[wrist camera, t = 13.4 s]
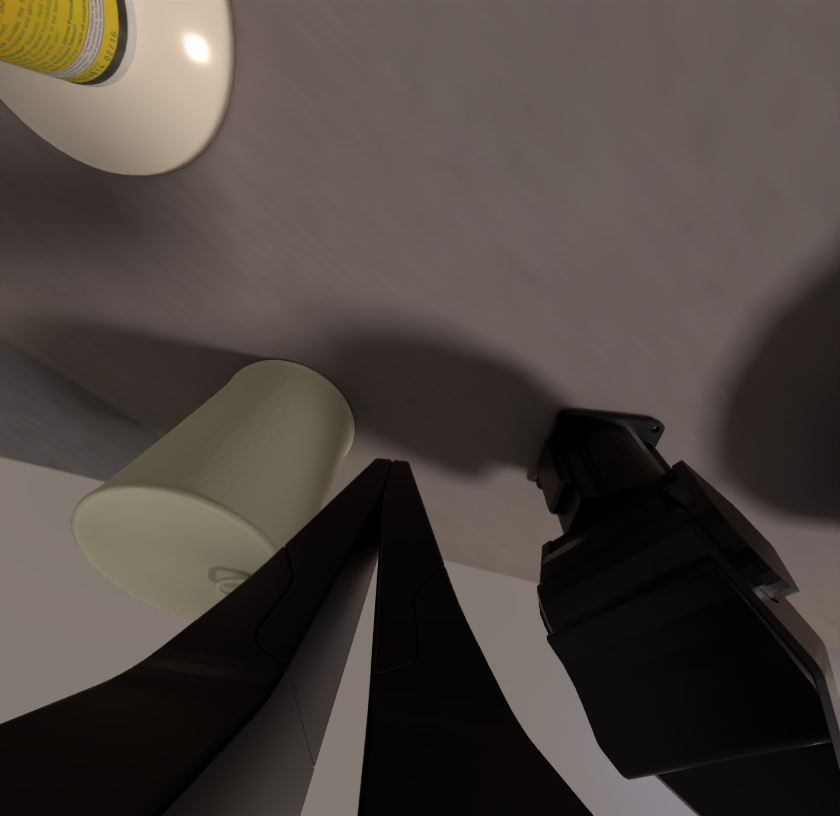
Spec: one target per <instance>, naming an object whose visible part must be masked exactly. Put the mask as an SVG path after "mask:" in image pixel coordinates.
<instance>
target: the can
mask: <svg viewBox="0 0 840 816" xmlns="http://www.w3.org/2000/svg"><path fill="white" fill-rule="evenodd" d="M354 433H355V425H354V419H353V415H352V412H351V409H350V407H349V405H348V403H347V401H346V399H345V398H344V396H343V395H342V394H341V392H340V391H339V390H338V389H337V388H336V387H335V386H334V385H333V384H332V383H331V382H330V381H329V380H327V379H326V378H325V377H324V376H322V375H321V374H319V373H317V372H316V371H314V370H312V369H310V368H308V367H306V366H303V365H301V364H297V363H294V362H290V361H284V360H265V361H259V362H256V363H252V364H250V365H248V366H246V367H244V368H243V369H241V370H239V371H238V372H237V373H236V374H235V375H234V376H233V377H232V379H231V380H230V381H229V383H228V384H226V385H225V386H224V387H223V388H222V389H221V390H220V391H218V392H217V393H216V394H215V395H214V396H213V397H211V398H210V399H209V400H208V401H207V402H205V403H204V404H203V405H202V406H200V407H199V408H198V409H197V410H196V411H194V412H193V413H192V414H191V415H189V416H188V417H187V418H186V419H185V420H183V421H182V422H181V423H180V424H178V425H177V426H176V427H175V428H174V429H172V430H171V431H170V432H169V433H167V434H166V435H165V436H164V437H163V438H161V439H160V440H159V441H157V442H156V443H155V444H154V445H152V446H151V447H150V448H149V449H147V450H146V451H145V452H144V453H142V454H141V455H140V456H139V457H137V458H136V459H135V460H133V461H132V462H131V463H130V464H128V465H127V466H126V467H125V468H123V469H122V470H121V471H120V472H118V473H117V474H116V475H115V476H113V477H112V478H111V479H110V480H108V481H107V482H105V483H104V484H103V485H101V486H100V487H99V488H97V489H96V490H94V491H92V492H91V493H89V494H87V495H86V496H85V497H83V498H82V499H81V501H80V502H79V503H78V504H77V506H76V508H75V509H74V511H73V514H72V517H71V530H72V534H73V538H74V540H75V542H76V544H77V547H78V548H79V550H80V551H81V553H82V554H83V556H84V557H85V558H86V560H87V561H88V562H89V563H90V564H91V565H92V566H93V567H94V569H96V570H97V571H98V572H99V573H100V574H101V575H102V576H103V577H105V578H106V579H107V580H108V581H110V582H111V583H112V584H114V585H115V586H116V587H118V588H119V589H121V590H123V591H124V592H126V593H127V594H129V595H131V596H133V597H134V598H136V599H138V600H140V601H142V602H144V603H146V604H148V605H150V606H153V607H155V608H158V609H160V610H163V611H166V612H168V613H171V614H174V615H177V616H181V617H185V618H189V619H193V620H197V619H198V618H199V617H200V616H202V615H203V614H204V613H205V612H207V611H208V610H209V609H211V608H212V607H213V606H214V605H216V604H217V603H218V602H219V601H221V600H222V599H223V598H225V597H226V596H227V595H228V594H229V593H231V592H232V591H233V590H234V589H236V588H237V587H238V586H239V585H240V584H242V583H243V582H244V581H245V580H247V579H248V578H249V577H250V576H251V575H252V574H253V573H255V572H256V571H257V570H258V569H259V568H260V567H261V566H262V565H263V564H265V563H266V562H267V561H268V560H269V559H270V558H271V557H272V556H273V555H274V554H275V553H276V552H278V551H279V550H280V549H281V548H282V547H285V544H286V543H287V542H288V541H289V540H290V539H291V538H293V537H294V536H295V535H296V534H297V533H298V532H299V531H300V530H301V529H302V528H303V527H304V526H305V525H306V524H307V523H308V522H309V521H311V520H312V519H313V518H314V517H315V516H316V515H317V514H318V513H319V512H320V510H321V508H322V506H323V503H324V501H325V499H326V496H327V494H328V492H329V490H330V487H331V485H332V483H333V480H334V478H335V476H336V473H337V471H338V469H339V467H340V465H341V463H342V461H343V458H344V457H345V455H346V454H347V453H348V451H349V450H350V448H351V445H352V443H353V439H354Z"/></svg>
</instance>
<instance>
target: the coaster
mask: <svg viewBox="0 0 840 816" xmlns="http://www.w3.org/2000/svg"><path fill="white" fill-rule="evenodd" d="M132 1H133V5H134V10H135V17H136V27H137V41H136V50H135V54H134V58H133V61H132V63H131V65H130V67H129V69H128V71H127V72H126V74H125V75H124V76H123V77H122V78H121V79H120V80H119V81H117V82H116V83H114V84H112V85H108V86H104V87H88V86H83V85H79V84H74V83H71V82H68V81H64V80H61V79H57V78H54V77H51V76H48V75H44V74H41V73H38V72H35V71H32V70H28V69H25V68H22V67H19V66H16V65H12V64H9V63H6V62H3V61H0V99H1V100H2V101H3V102H4V103H5V104H6V105H7V106H8V107H9V108H10V109H11V110H12V111H13V112H14V113H15V114H16V115H17V116H18V117H19V118H20V119H21V120H22V121H23V122H24V123H25V124H26V125H27V126H29V127H30V128H31V129H32V130H33V131H34V132H36V133H37V134H38V135H39V136H40V137H42V138H43V139H45V140H46V141H47V142H49V143H50V144H52V145H53V146H54V147H56V148H57V149H59V150H60V151H62V152H64V153H66V154H67V155H69V156H71V157H72V158H74V159H76V160H78V161H80V162H83V163H85V164H87V165H89V166H92V167H94V168H98V169H101V170H104V171H107V172H112V173H118V174H124V175H137V176H158V175H164V174H169V173H172V172H175V171H178V170H180V169H183V168H185V167H186V166H188V165H189V164H191V163H193V162H194V161H196V160H197V159H198V158H199V157H200V156H201V155H202V154H203V153H204V152H205V151H206V150H207V149H208V147H209V146H210V145H211V143H212V142H213V141H214V139H215V138H216V136H217V134H218V132H219V130H220V128H221V126H222V124H223V122H224V119H225V116H226V113H227V110H228V107H229V104H230V99H231V94H232V90H233V84H234V73H235V31H234V21H233V11H232V6H231V1H230V0H132Z"/></svg>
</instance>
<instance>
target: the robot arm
mask: <svg viewBox="0 0 840 816" xmlns="http://www.w3.org/2000/svg"><path fill="white" fill-rule="evenodd" d="M565 417H569V418H568V419H567V420H563V418H565ZM655 426H657V427H656V428H655V429H652V428H653V427H655ZM664 429H665V427H664V425H663V424H662V423H661V422H660V421H659V420H655V419H646V418H637V417H627V416H618V415H608V414H599V413H589V412H580V411H570V410H563V411H561V412H560V413H558V415H557V417H556V420H555V423H554V427H553V430H552V433H551V436H550V438H548V439H547V440H546V441H545V443H544V446H543V449H542V452H541V455H540V458H539V462H538V465H537V472H538V476H537V479H536V484H537V487H538V488H539V489H541V490H543V493H544V496H545V500H546V503H547V507H548V510H549V511H550V512H551V514H556V515H558V518H559V521H560V524H561V527H562V530H563V533H564V535H562V536H561V537H559V538H557V539H556V540H554V541H549V542H547V543H545V544H544V545H543V546H542V558H541V572H540V584H539V585H538V586H537V594H538V598H539V608H540V615H541V618H542V620H543V622H544V625H545V628H546V630H547V632H548V634H549V635H547V640H548V643H549V644H550V646H551V647H552V649H553V650H554V652H555V653H556V655H557V656H558V658H559V659H560V661H561V662H562V663H563V665H564V667H565V669H566V671H567V673H568V675H569V677H570V678H571V681H572V682H573V684H574V686H575V688H576V691H577V693H578V695H579V698H580V700H581V702H582V705H583V707H584V710H585V712H586V715H587V718H588V720H589V723H590V725H591V728H592V730H593V733H594V736H595V738H596V741H597V743H598V745H599V746H600V748H601V750H602V751H603V752H604V753H605V755H606V756H607V757H608V759H609V760H610V761H611V762H612V764H613V765H614V766H615V768H616V769H617V770H618V771H619V773H620V774H621V775H622V776H623V777H625V778H626V779H629V780H631V779H636V778H641V777H646V776H652V775H655V776H656V777H657V778H658V779H659V780H660V781H661V782H662V783H663V784H664V785H665V786H666V787H667V788H669V789H670V790H671V791H672V792H673V793H674V794H675V795H676V796H677V797H678V798H679V799H680V800H681V801H682V802H684V803H685V804H686V805H687V806H688V807H689V808H690V809H691V810H692V811H693V812H694V813H695V814H696V815H698V816H840V698H839V695H838V691H837V687H836V683H835V680H834V676H833V672H832V668H831V664H830V660H829V657H828V653H827V650H826V647H825V645H824V643H823V641H822V640H821V639H820V637H819V636H818V635H817V634H816V632H815V631H814V630H813V629H812V628H811V627H810V626H809V624H808V623H807V622H806V621H805V620H804V619H803V618H802V616H801V615H800V614H799V613H798V612H797V611H796V609H795V608H794V607H793V606H792V605H791V604H790V603H789V601H788V600H787V599H786V598H785V597H787V596H790V595H793V594H795V593H798V592H800V591H799V589H798V587H797V586H796V584H795V582H794V581H793V579H792V577H791V576H790V574H789V572H788V571H787V569H786V567H785V566H784V564H783V562H782V561H781V559H780V557H779V556H778V554H777V552H776V551H775V549H774V547H773V546H772V545H771V544H770V543H769V542H768V541H767V540H766V539H765V538H764V537H763V535H762V534H761V533H760V532H759V531H758V530H757V529H756V528H755V527H754V526H753V525H752V524H751V523H750V522H749V521H748V520H747V519H746V517H745V516H744V515H743V514H742V513H741V512H740V511H739V510H738V509H737V508H736V507H735V506H734V505H733V504H732V503H730V502H729V501H728V500H727V499H726V498H725V497H724V496H722V495H721V494H720V493H719V492H718V491H717V490H716V489H715V488H713V487H712V486H711V485H710V484H709V483H708V482H707V481H705V480H704V479H703V478H702V477H701V476H700V475H699V474H697V473H696V472H695V471H694V470H693V469H692V468H691V467H689V466H688V465H687V464H686V463H685V462H684V461H683V460H681V461H680V462H678V463H676V464H675V465H673V466H672V469H671V467H670V466H669V465H668V464H667V462H666V461H665V460H664V459H663V457H662V456H661V455H660V453H659V452H658V451H657V450H656V448H655V447H656V445H657V443H658V441H659V439H660V437H661V435H662V433H663V431H664ZM377 559H378V570H377V585H376V600H375V614H374V629H373V644H372V658H371V674H370V688H369V701H368V713H367V725H366V735H365V745H364V756H363V766H362V775H361V785H360V795H359V806H358V816H593V814H592V813H591V812H590V811H589V810H588V809H587V808H586V806H585V805H584V804H583V803H582V802H581V800H580V799H579V798H578V797H577V795H576V794H575V793H574V792H573V791H572V790H571V788H570V787H569V786H568V785H567V783H566V782H565V781H564V780H563V779H562V777H561V776H560V775H559V774H558V773H557V772H556V770H555V769H554V768H553V767H552V765H551V764H550V763H549V762H548V761H547V759H546V758H545V757H544V756H543V755H542V754H541V752H540V751H539V750H538V749H537V747H536V746H535V745H534V744H533V742H532V741H531V740H530V739H529V737H528V736H527V734H526V733H525V731H524V730H523V728H522V727H521V725H520V723H519V722H518V720H517V719H516V717H515V715H514V713H513V712H512V710H511V708H510V706H509V704H508V702H507V701H506V699H505V697H504V695H503V693H502V691H501V689H500V687H499V685H498V683H497V681H496V679H495V677H494V675H493V673H492V671H491V669H490V667H489V665H488V663H487V661H486V659H485V657H484V655H483V653H482V651H481V649H480V647H479V645H478V643H477V641H476V639H475V637H474V635H473V633H472V631H471V629H470V627H469V624H468V622H467V620H466V618H465V616H464V613H463V612H462V609H461V607H460V605H459V602H458V600H457V597H456V594H455V592H454V589H453V587H452V584H451V582H450V579H449V576H448V573H447V570H446V568H445V567H444V562H443V559H442V556H441V553H440V551H439V548H438V545H437V542H436V539H435V536H434V533H433V530H432V528H431V525H430V522H429V519H428V516H427V513H426V510H425V508H424V505H423V502H422V499H421V496H420V493H419V490H418V487H417V485H416V482H415V479H414V476H413V473H412V470H411V467H410V465H409V463H408V462H407V461H399V460H394V461H393V462H392V461H391V460H390V459H381V458H377V459H375V460H374V461H373V462H372V463H371V464H370V465H369V466H368V467H367V468H365V469H364V470H363V471H362V472H361V473H360V474H359V475H358V476H357V477H356V478H355V479H354V480H353V481H352V482H351V483H350V484H349V485H347V486H346V487H345V488H344V489H343V490H342V491H341V492H340V493H339V494H338V495H337V496H336V497H335V498H334V499H333V500H332V501H331V502H330V503H328V504H327V505H326V506H325V507H324V508H323V509H322V510H321V511H320V512H319V513H318V514H317V515H316V516H315V517H314V518H313V519H312V520H311V521H309V522H308V523H307V524H306V525H305V526H304V527H303V528H302V529H301V530H300V531H299V532H298V533H297V534H296V535H295V536H294V537H293V538H291V539H290V540H289V541H288V542H287V543H286V544H285V547H282V548H281V549H280V550H279V551H278V552H276V553H275V554H274V555H273V556H272V557H271V558H270V559H269V560H268V561H267V562H266V563H265V564H263V565H262V566H261V567H260V568H259V569H258V570H257V571H256V572H255V573H253V574H252V575H251V576H250V577H249V578H248V579H247V580H245V581H244V582H243V583H242V584H240V585H239V586H238V587H237V588H236V589H234V590H233V591H232V592H231V593H229V594H228V595H227V596H226V597H225V598H223V599H222V600H221V601H219V602H218V603H217V604H216V605H214V606H213V607H212V608H211V609H209V610H208V611H207V612H205V613H204V614H203V615H202V616H200V617H199V618H198V619H197V620H195V621H194V622H193V623H191V624H190V625H189V626H188V627H186V628H185V629H184V630H182V632H180V633H179V634H177V635H176V636H175V637H174V638H172V639H171V640H170V641H169V642H167V643H166V644H165V645H163V646H162V647H161V648H160V649H158V650H157V651H155V652H154V653H153V654H152V655H150V656H149V657H148V658H146V659H144V660H143V661H141V662H140V663H138V664H137V665H135V666H133V667H132V668H130V669H128V670H127V671H125V672H123V673H122V674H120V675H118V676H116V677H114V678H112V679H110V680H108V681H105V682H103V683H101V684H98V685H96V686H93V687H91V688H88V689H86V690H84V691H81V692H79V693H76V694H74V695H71V696H69V697H66V698H64V699H61V700H59V701H56V702H54V703H51V704H49V705H46V706H44V707H41V708H39V709H36V710H34V711H31V712H29V713H27V714H24V715H22V716H19V717H17V718H14V719H12V720H9V721H7V722H4V723H2V724H0V816H300V814H301V811H302V808H303V805H304V801H305V798H306V795H307V791H308V788H309V785H310V781H311V778H312V775H313V772H314V766H315V764H316V761H317V758H318V755H319V751H320V748H321V745H322V741H323V738H324V735H325V731H326V728H327V724H328V721H329V718H330V715H331V711H332V708H333V705H334V702H335V698H336V695H337V691H338V688H339V685H340V682H341V678H342V675H343V672H344V668H345V665H346V662H347V658H348V655H349V652H350V648H351V645H352V642H353V638H354V635H355V632H356V628H357V625H358V622H359V619H360V615H361V612H362V609H363V605H364V602H365V599H366V595H367V592H368V588H369V585H370V582H371V579H372V576H373V572H374V569H375V566H376V562H377Z"/></svg>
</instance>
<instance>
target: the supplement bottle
mask: <svg viewBox="0 0 840 816" xmlns="http://www.w3.org/2000/svg"><path fill="white" fill-rule="evenodd" d="M136 41H137V27H136V17H135V10H134V5H133V1H132V0H0V61H3V62H6V63H9V64H12V65H16V66H19V67H22V68H25V69H28V70H32V71H35V72H38V73H41V74H44V75H48V76H51V77H54V78H57V79H61V80H64V81H68V82H71V83H74V84H79V85H83V86H88V87H104V86H108V85H112V84H114V83H116V82H117V81H119V80H120V79H121V78H122V77H123V76H124V75H125V74H126V72H127V71H128V69H129V67H130V65H131V63H132V61H133V58H134V54H135V50H136Z"/></svg>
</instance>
